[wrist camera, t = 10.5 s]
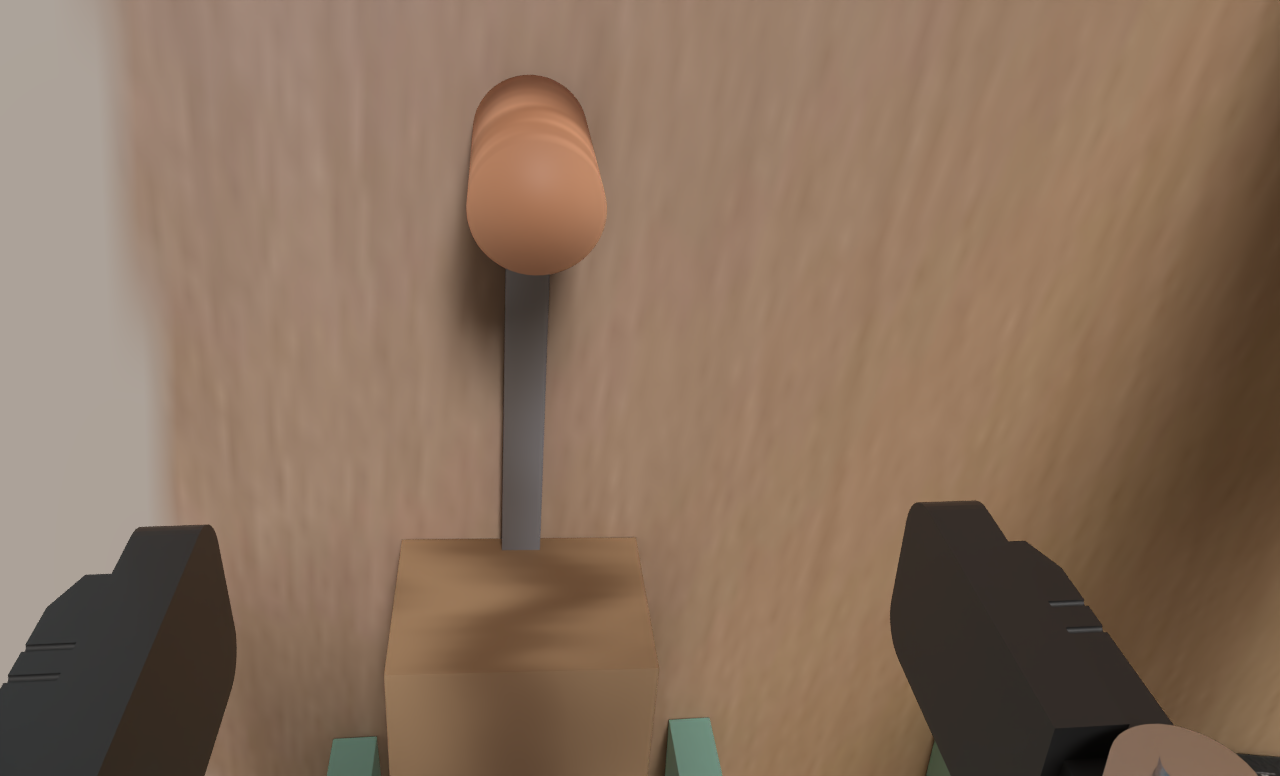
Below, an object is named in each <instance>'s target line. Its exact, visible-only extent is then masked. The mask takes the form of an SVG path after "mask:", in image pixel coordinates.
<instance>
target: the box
mask: <svg viewBox="0 0 1280 776" xmlns="http://www.w3.org/2000/svg"><path fill="white" fill-rule="evenodd" d="M1237 755H1238V756H1239V757H1240V758H1241V759H1243V760H1244V761H1245V762H1246V763H1247V764H1248V765H1249V766H1250V767H1251V768H1252V769H1253V770H1254V771H1255V773H1256V774H1257V775H1258V776H1280V757H1270V756H1258V755H1249V754H1248V755H1245V754H1237Z"/></svg>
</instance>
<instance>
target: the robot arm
mask: <svg viewBox="0 0 1280 776" xmlns="http://www.w3.org/2000/svg"><path fill="white" fill-rule="evenodd" d="M890 623H891V634H892V639H893V644H894V648H895V651H896V654H897V657H898V659H899V662H900V664H901V666H902V668H903V670H904V673H905V675H906V677H907V679H908V682H909V684H910V686H911V688H912V691H913V693H914V695H915V697H916V699H917V702H918V704H919V706H920V708H921V711H922V713H923V715H924V717H925V720H926V722H927V724H928V726H929V728H930V731H931V733H932V735H933V737H934V740H935V742H936V744H937V746H938V749H939V751H940V753H941V755H942V757H943V760H944V762H945V764H946V766H947V769H948V771H949V773H950V775H951V776H1258V775H1257V774H1256V773H1255V771H1254V770H1253V769H1252V768H1251V767H1250V766H1249V765H1248V764H1247V763H1246V762H1245V761H1244V760H1243V759H1241V758H1240V757H1239V756H1238V755H1237V754H1235V753H1234V752H1233V751H1231V750H1230V749H1228V748H1227V747H1225V746H1224V745H1222V744H1220V743H1219V742H1217V741H1215V740H1213V739H1211V738H1209V737H1207V736H1205V735H1202V734H1200V733H1198V732H1195V731H1192V730H1189V729H1186V728H1182V727H1178V726H1174V725H1173V724H1172V723H1171V721H1170V720H1169V718H1168V717H1167V716H1166V714H1165V713H1164V711H1163V710H1162V709H1161V707H1160V706H1159V704H1158V703H1157V701H1156V700H1155V699H1154V697H1153V696H1152V694H1151V693H1150V692H1149V690H1148V689H1147V687H1146V686H1145V685H1144V683H1143V682H1142V680H1141V679H1140V678H1139V676H1138V675H1137V673H1136V672H1135V671H1134V669H1133V668H1132V666H1131V665H1130V664H1129V662H1128V661H1127V659H1126V658H1125V657H1124V655H1123V654H1122V652H1121V651H1120V650H1119V648H1118V647H1117V645H1116V644H1115V642H1114V641H1113V640H1112V638H1111V637H1110V635H1109V634H1108V633H1107V632H1103V630H1102V624H1101V623H1100V621H1099V620H1098V619H1097V617H1096V616H1095V614H1094V613H1093V612H1092V610H1091V609H1090V607H1089V606H1085V605H1084V599H1083V598H1082V596H1081V595H1080V593H1079V592H1078V591H1077V589H1076V588H1075V586H1074V585H1073V583H1072V582H1071V581H1070V579H1069V578H1068V576H1067V575H1066V574H1065V572H1064V571H1063V569H1062V568H1061V567H1060V566H1058V565H1057V564H1055V563H1054V562H1053V561H1051V560H1050V559H1049V558H1047V557H1046V556H1045V555H1043V554H1042V553H1041V552H1039V551H1038V550H1037V549H1035V548H1034V547H1033V546H1031V545H1030V544H1028V543H1027V542H1026V541H1010V542H1008V540H1007V539H1006V537H1005V536H1004V534H1003V533H1002V531H1001V530H1000V528H999V527H998V525H997V524H996V522H995V521H994V519H993V518H992V516H991V515H990V513H989V512H988V510H987V509H986V508H985V506H984V505H983V504H982V503H981V502H979V501H948V502H918V503H915V504H914V505H913V506H912V507H911V509H910V511H909V513H908V517H907V521H906V526H905V531H904V537H903V542H902V547H901V553H900V558H899V563H898V568H897V574H896V579H895V584H894V589H893V595H892V600H891V609H890ZM236 648H237V647H236V632H235V626H234V621H233V616H232V611H231V606H230V601H229V595H228V590H227V585H226V580H225V575H224V570H223V565H222V560H221V554H220V549H219V544H218V540H217V536H216V533H215V531H214V529H213V528H212V526H210V525H183V526H154V527H139V528H137V529H136V530H135V531H134V532H133V534H132V535H131V537H130V539H129V541H128V543H127V545H126V547H125V549H124V551H123V553H122V555H121V557H120V559H119V561H118V563H117V564H116V566H115V568H114V570H113V572H112V574H97V575H85V576H83V577H82V578H81V579H80V580H79V581H78V582H77V583H75V584H74V585H73V586H72V587H70V589H68V590H67V591H66V592H65V593H63V594H62V595H61V596H60V597H59V598H57V599H56V600H55V601H54V602H53V603H52V604H50V605H49V606H48V607H47V608H46V610H45V612H44V613H43V615H42V617H41V618H40V620H39V622H38V624H37V625H36V627H35V629H34V631H33V633H32V635H31V636H30V638H29V640H28V641H27V643H26V650H25V652H21V653H20V655H19V657H18V659H17V660H16V662H15V664H14V666H13V667H12V669H11V671H10V673H9V674H8V683H3V685H2V687H1V688H0V776H204V775H205V772H206V769H207V766H208V763H209V759H210V756H211V753H212V750H213V747H214V743H215V740H216V737H217V734H218V731H219V728H220V724H221V721H222V718H223V715H224V712H225V708H226V705H227V702H228V699H229V696H230V692H231V689H232V685H233V681H234V675H235V668H236Z"/></svg>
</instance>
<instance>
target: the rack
mask: <svg viewBox="0 0 1280 776" xmlns="http://www.w3.org/2000/svg"><path fill="white" fill-rule="evenodd" d="M327 776H381V771H380V762H379V753H378V744H377V736H376V737H359V738H341V739H333V744H332V749H331V755H330V761H329V766H328V772H327ZM665 776H722V772H721V767H720V763H719V758H718V754H717V749H716V745H715V741H714V736H713V732H712V727H711V723H710V718H693V719H676V720H669V727H668V741H667V754H666V768H665ZM926 776H951V775H950V773H949V771H948V769H947V766H946V764H945V762H944V760H943V757H942V755H941V753H940V751H939V749H938V746H937V744H936V742H935V741H934V745H933V749H932V753H931V757H930V761H929V765H928V769H927V773H926Z"/></svg>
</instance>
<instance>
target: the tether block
mask: <svg viewBox="0 0 1280 776" xmlns="http://www.w3.org/2000/svg"><path fill="white" fill-rule="evenodd" d="M466 211H467V220H468V224H469V228H470V230H471V233H472V235H473V237H474V239H475V241H476V243H477V244H478V246H479V247H480V248H481V250H482V251H483V252H484V253H485V254H486V255H487V256H488V257H489V258H490V259H492V260H493V261H494V262H496V263H497V264H499V265H500V266H502V267H504V268H506V282H505V353H504V423H503V494H502V539H423V540H402V544H401V551H400V559H399V566H398V574H397V581H396V589H395V596H394V604H393V612H392V619H391V627H390V634H389V642H388V649H387V657H386V664H385V672H384V684H385V702H386V720H387V738H388V756H389V773H390V776H647V774H648V765H649V756H650V747H651V738H652V729H653V720H654V711H655V702H656V693H657V684H658V675H659V664H658V659H657V653H656V648H655V642H654V637H653V631H652V625H651V620H650V614H649V609H648V603H647V598H646V592H645V586H644V581H643V575H642V570H641V564H640V559H639V553H638V547H637V542H636V538H540V531H541V503H542V475H543V447H544V419H545V391H546V362H547V334H548V306H549V278H550V274H554V273H557V272H561V271H563V270H566V269H568V268H570V267H572V266H574V265H575V264H577V263H579V262H580V261H581V260H582V259H584V258H585V257H586V256H587V255H588V254H589V253H590V252H591V251H592V249H593V248H594V247H595V246H596V244H597V242H598V241H599V239H600V237H601V234H602V232H603V230H604V226H605V222H606V215H607V203H606V196H605V192H604V188H603V184H602V180H601V176H600V172H599V168H598V164H597V161H596V157H595V153H594V149H593V145H592V141H591V137H590V133H589V129H588V125H587V122H586V118H585V114H584V112H583V109H582V107H581V105H580V104H579V102H578V100H577V99H576V98H575V97H574V95H573V94H572V93H571V92H570V91H569V90H568V89H567V88H565V87H564V86H563V85H561V84H560V83H558V82H556V81H554V80H552V79H549V78H546V77H542V76H536V75H522V76H516V77H513V78H509V79H507V80H505V81H502V82H501V83H499V84H498V85H496V86H495V87H494V88H492V89H491V90H490V91H489V92H488V93H487V94H486V95H485V97H484V98H483V100H482V101H481V103H480V104H479V106H478V108H477V111H476V114H475V118H474V123H473V134H472V146H471V157H470V169H469V181H468V193H467V206H466Z"/></svg>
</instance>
